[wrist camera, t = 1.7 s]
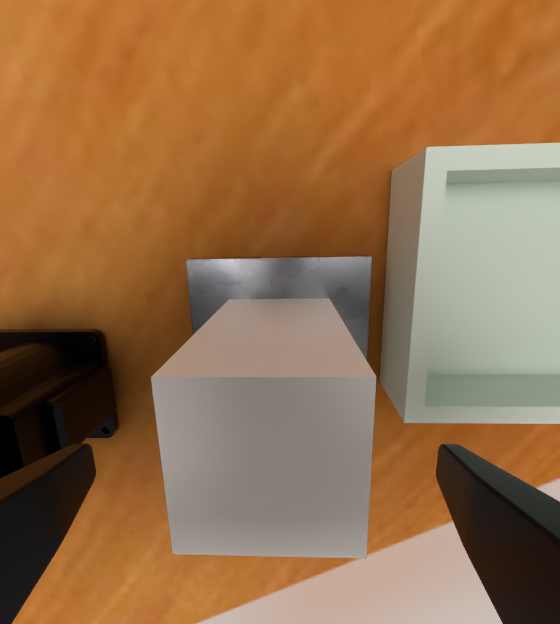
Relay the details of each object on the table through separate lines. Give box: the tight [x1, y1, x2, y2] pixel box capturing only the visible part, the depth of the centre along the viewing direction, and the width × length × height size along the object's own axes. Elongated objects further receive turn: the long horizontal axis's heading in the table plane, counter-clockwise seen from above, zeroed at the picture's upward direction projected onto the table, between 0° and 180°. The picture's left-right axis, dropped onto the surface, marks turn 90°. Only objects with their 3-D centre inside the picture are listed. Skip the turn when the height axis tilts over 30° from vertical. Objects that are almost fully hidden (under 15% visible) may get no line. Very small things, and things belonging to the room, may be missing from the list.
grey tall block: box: [151, 298, 376, 558], centre depth 12 cm, size 5×5×9 cm
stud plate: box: [186, 255, 372, 360], centre depth 15 cm, size 9×9×4 cm
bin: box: [379, 143, 560, 424], centre depth 14 cm, size 11×11×4 cm
